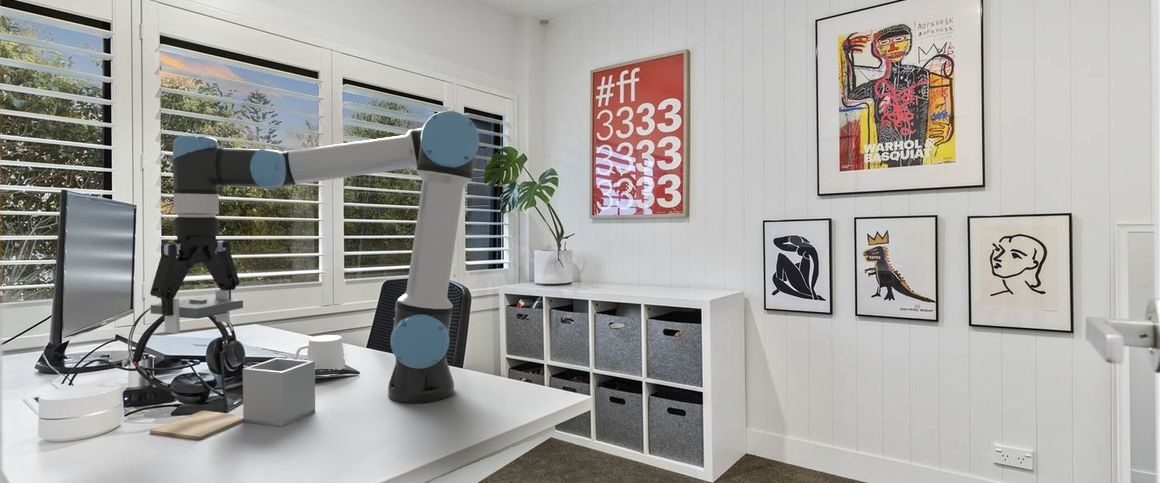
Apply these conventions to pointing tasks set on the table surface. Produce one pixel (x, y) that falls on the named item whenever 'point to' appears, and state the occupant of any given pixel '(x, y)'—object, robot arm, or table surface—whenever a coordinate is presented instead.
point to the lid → (202, 307)
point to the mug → (325, 352)
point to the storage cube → (278, 391)
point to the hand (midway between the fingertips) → (198, 326)
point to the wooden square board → (199, 425)
